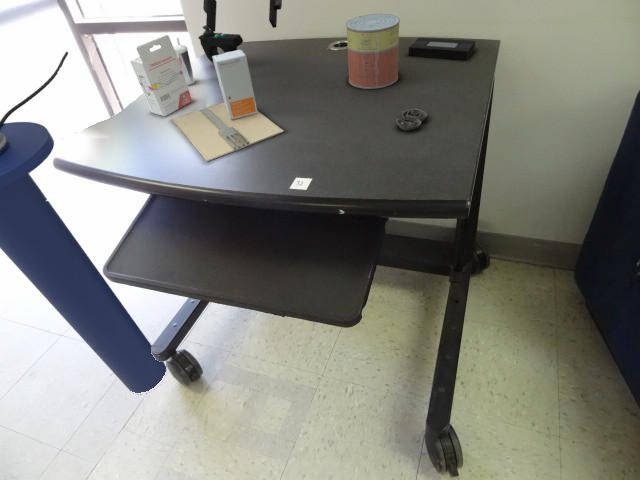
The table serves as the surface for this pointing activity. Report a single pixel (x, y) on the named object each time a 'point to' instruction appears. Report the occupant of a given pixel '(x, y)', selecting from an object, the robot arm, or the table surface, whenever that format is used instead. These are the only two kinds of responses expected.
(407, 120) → the corroded twin loop
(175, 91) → the ink cartridge box
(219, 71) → the cosmetic box
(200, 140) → the placemat
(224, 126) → the fork
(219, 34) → the controller
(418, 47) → the vhs tape
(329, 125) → the table surface
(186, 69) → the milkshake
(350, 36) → the canned food
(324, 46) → the table surface
